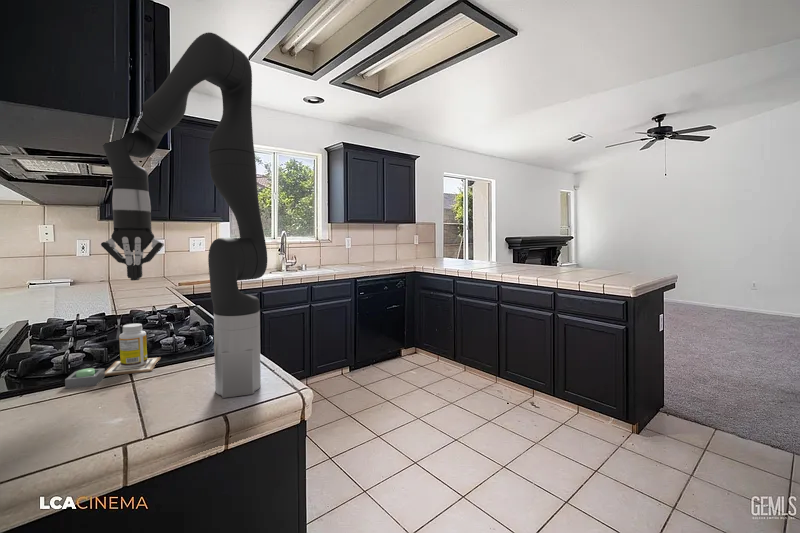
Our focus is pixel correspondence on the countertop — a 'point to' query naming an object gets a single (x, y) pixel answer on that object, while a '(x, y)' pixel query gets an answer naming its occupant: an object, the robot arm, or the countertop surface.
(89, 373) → the button
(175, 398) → the countertop surface
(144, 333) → the supplement bottle
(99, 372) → the button housing
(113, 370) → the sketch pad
